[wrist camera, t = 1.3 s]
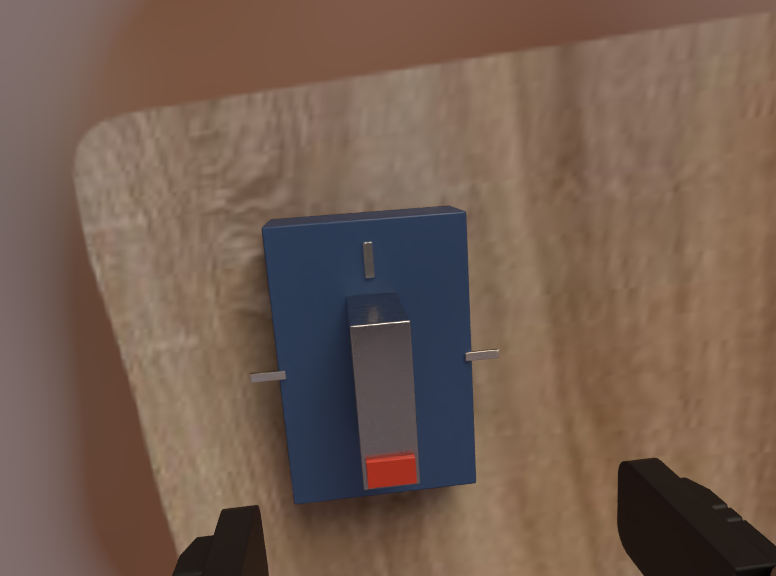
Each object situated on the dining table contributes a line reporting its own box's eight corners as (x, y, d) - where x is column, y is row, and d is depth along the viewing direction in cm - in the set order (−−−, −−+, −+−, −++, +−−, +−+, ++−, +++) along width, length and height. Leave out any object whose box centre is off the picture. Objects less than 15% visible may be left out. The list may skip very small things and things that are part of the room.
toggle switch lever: (345, 296, 22) (349, 328, 18) (396, 291, 23) (411, 322, 18) (358, 434, 24) (364, 494, 19) (405, 429, 24) (421, 487, 20)
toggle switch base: (243, 221, 24) (230, 229, 21) (475, 203, 25) (495, 209, 22) (274, 471, 27) (267, 510, 24) (483, 447, 28) (502, 483, 25)
